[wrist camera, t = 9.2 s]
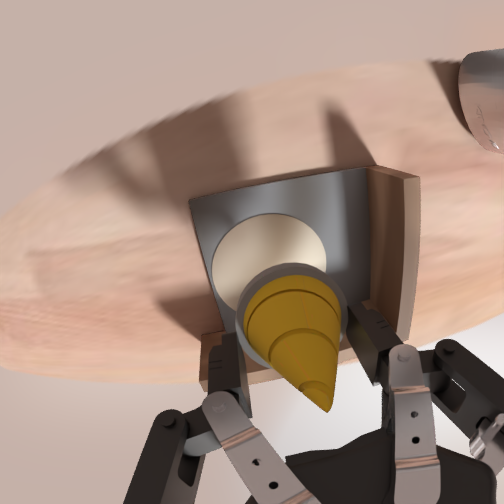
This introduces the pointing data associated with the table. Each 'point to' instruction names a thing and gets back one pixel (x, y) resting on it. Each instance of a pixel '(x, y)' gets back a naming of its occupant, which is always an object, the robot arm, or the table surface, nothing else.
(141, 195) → the table surface
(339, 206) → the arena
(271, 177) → the table surface
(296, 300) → the drill bit
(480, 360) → the robot arm
